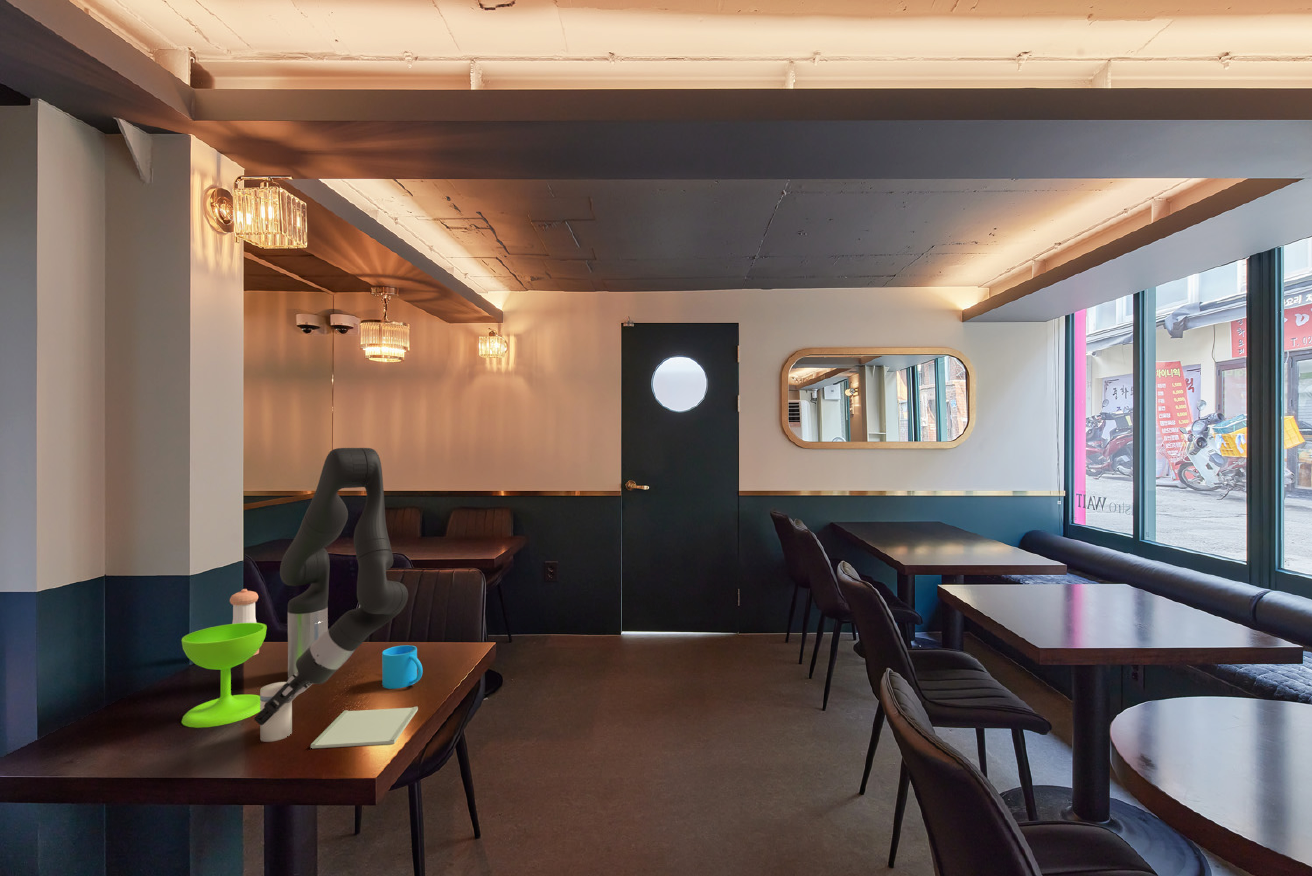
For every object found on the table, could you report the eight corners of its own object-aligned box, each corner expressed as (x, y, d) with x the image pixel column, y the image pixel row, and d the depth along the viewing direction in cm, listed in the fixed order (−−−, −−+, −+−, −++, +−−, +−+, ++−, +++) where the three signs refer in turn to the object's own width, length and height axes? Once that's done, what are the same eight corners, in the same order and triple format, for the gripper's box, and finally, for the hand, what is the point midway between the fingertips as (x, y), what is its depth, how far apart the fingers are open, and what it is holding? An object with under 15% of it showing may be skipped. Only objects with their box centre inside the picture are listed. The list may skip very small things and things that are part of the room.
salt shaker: (222, 658, 176) (222, 591, 177) (243, 650, 183) (243, 586, 184) (244, 659, 175) (244, 592, 176) (265, 651, 182) (264, 586, 183)
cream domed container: (269, 730, 130) (269, 682, 130) (297, 728, 130) (297, 681, 130) (254, 742, 124) (254, 693, 124) (283, 741, 124) (283, 691, 125)
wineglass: (219, 697, 148) (219, 622, 148) (282, 697, 147) (282, 622, 147) (162, 727, 132) (162, 643, 132) (233, 728, 131) (232, 643, 131)
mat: (344, 714, 137) (344, 710, 137) (417, 710, 138) (417, 706, 138) (310, 748, 121) (310, 744, 121) (394, 743, 122) (394, 739, 122)
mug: (375, 685, 154) (375, 653, 154) (402, 674, 161) (401, 643, 161) (408, 693, 148) (408, 659, 148) (434, 682, 155) (434, 650, 156)
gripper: (328, 632, 135) (274, 687, 134) (297, 653, 121) (235, 715, 120) (353, 655, 136) (299, 710, 134) (325, 679, 121) (264, 741, 120)
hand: (269, 712), depth 127 cm, fingers open, 8 cm apart
